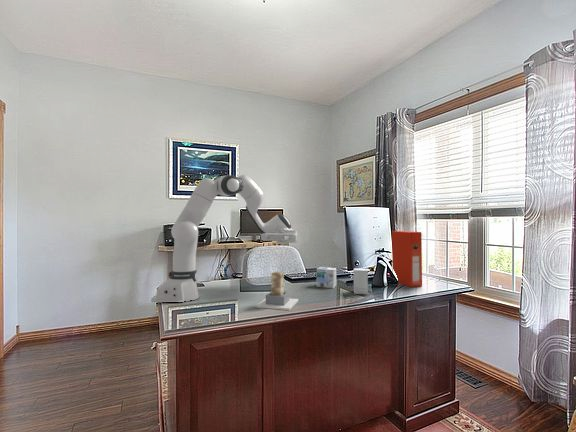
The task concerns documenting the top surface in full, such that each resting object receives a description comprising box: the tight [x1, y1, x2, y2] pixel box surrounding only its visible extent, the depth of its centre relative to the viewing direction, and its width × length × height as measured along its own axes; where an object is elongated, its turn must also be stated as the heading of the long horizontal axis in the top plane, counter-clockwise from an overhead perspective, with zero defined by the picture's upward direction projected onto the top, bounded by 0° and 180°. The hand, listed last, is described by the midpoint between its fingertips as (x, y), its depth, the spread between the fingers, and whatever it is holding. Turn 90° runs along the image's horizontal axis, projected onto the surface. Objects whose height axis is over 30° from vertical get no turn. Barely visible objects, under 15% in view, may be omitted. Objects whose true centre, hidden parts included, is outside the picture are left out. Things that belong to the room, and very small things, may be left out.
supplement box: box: [353, 267, 369, 295], centre depth 166 cm, size 7×7×13 cm
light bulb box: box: [315, 266, 337, 289], centre depth 181 cm, size 11×7×11 cm, turn 68°
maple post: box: [270, 271, 284, 296], centre depth 144 cm, size 4×4×14 cm
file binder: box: [391, 230, 423, 288], centre depth 187 cm, size 8×17×32 cm, turn 17°
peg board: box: [255, 291, 299, 311], centre depth 144 cm, size 16×16×5 cm
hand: (275, 237), depth 161 cm, fingers open, 8 cm apart
